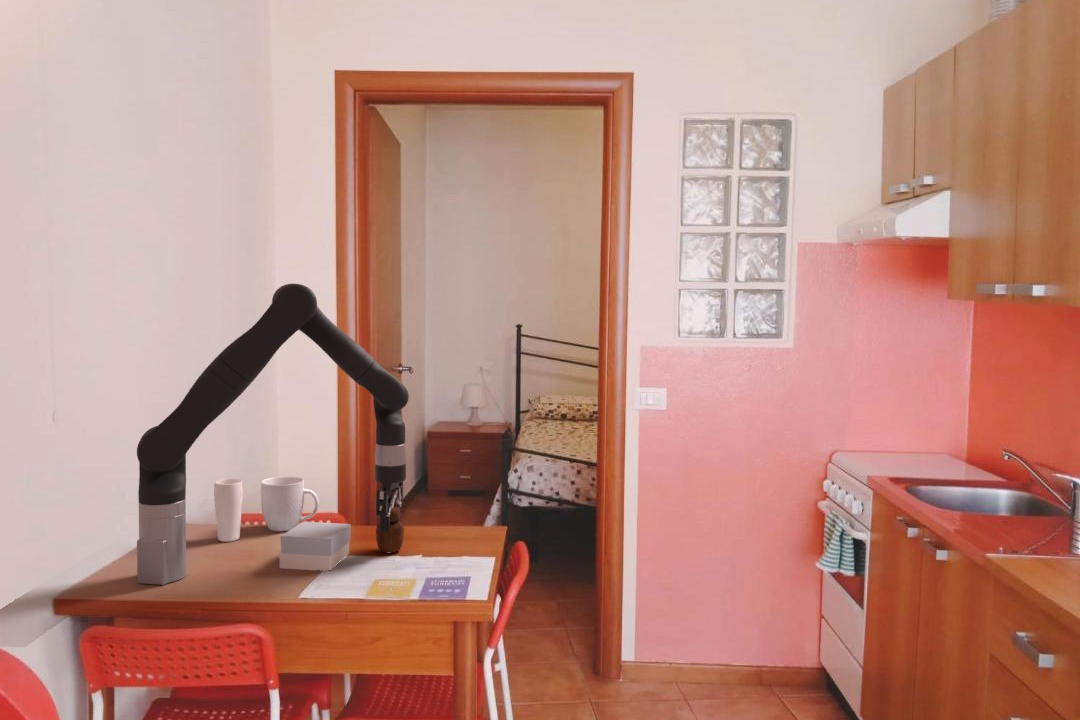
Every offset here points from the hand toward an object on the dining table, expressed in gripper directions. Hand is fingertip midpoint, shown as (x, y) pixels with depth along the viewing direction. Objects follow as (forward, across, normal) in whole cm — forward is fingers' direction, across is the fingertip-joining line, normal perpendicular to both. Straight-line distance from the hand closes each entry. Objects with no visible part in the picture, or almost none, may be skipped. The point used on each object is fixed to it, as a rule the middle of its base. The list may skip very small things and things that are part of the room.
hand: (390, 526), depth 189 cm
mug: (+6, +14, +33) cm, 36 cm away
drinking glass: (+6, +2, +43) cm, 44 cm away
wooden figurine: (+6, 0, 0) cm, 6 cm away
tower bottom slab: (+7, -10, +15) cm, 19 cm away
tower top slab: (+3, -10, +15) cm, 18 cm away
